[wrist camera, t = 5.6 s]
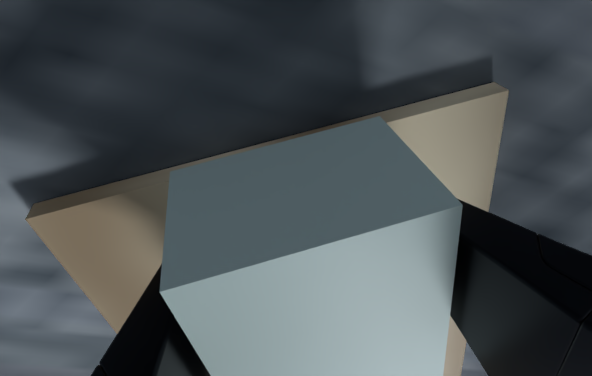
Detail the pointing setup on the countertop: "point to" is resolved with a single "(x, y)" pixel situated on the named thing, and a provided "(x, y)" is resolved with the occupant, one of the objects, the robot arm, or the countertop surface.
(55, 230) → the board
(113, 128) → the countertop surface
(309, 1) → the countertop surface
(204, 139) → the countertop surface
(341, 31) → the countertop surface
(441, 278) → the stub
